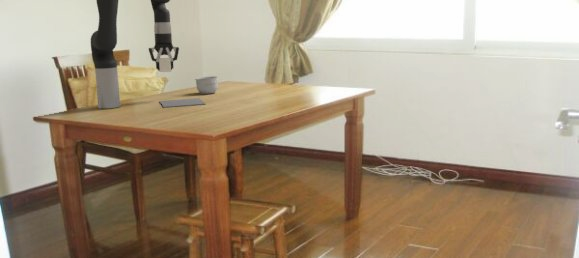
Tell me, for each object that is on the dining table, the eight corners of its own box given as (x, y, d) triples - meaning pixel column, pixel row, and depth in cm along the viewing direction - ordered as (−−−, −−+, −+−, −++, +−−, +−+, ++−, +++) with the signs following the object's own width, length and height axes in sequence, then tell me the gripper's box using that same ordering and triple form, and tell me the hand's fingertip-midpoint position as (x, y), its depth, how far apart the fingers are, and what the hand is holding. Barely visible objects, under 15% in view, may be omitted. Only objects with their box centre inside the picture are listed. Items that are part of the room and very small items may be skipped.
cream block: (160, 72, 273) (159, 58, 272) (159, 71, 278) (158, 58, 277) (171, 71, 274) (170, 58, 273) (169, 70, 279) (169, 57, 278)
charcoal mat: (163, 107, 256) (163, 106, 256) (159, 101, 273) (159, 101, 273) (205, 104, 261) (205, 103, 261) (199, 99, 278) (199, 98, 278)
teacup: (207, 95, 290) (206, 78, 288) (191, 94, 296) (190, 77, 294) (227, 91, 300) (226, 75, 299) (211, 90, 307) (210, 74, 305)
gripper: (147, 33, 267) (149, 71, 270) (179, 32, 271) (181, 70, 275) (146, 32, 274) (148, 70, 278) (177, 32, 278) (179, 68, 282)
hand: (165, 69), depth 276 cm, fingers closed on cream block, 5 cm apart
